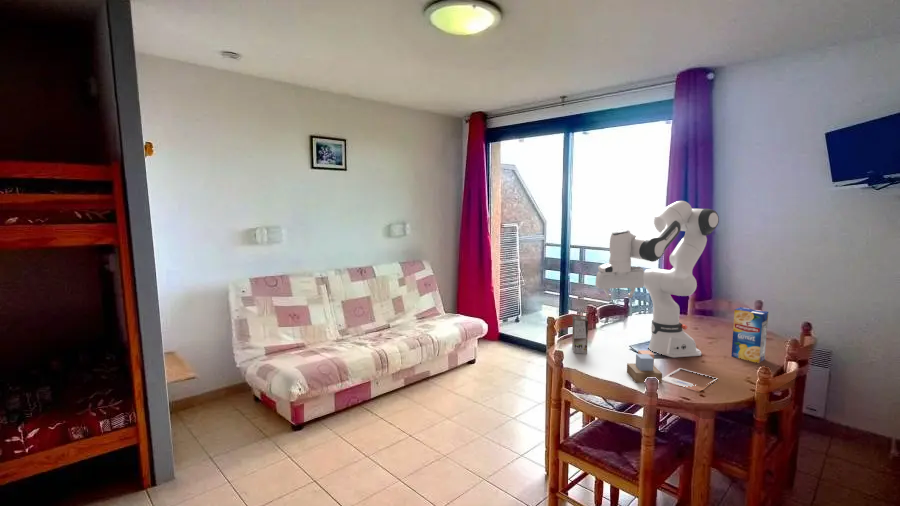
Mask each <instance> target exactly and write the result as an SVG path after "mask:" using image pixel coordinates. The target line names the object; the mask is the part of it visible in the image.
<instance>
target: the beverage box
mask: <svg viewBox="0 0 900 506" xmlns="http://www.w3.org/2000/svg"><path fill="white" fill-rule="evenodd" d="M733 314H734V315H733V326H732V329H733V330H732V340H731V341H732V342H731V343H732V344H731V357H733V358H736V359H740V358H741V360H744V361H748V360H749V361H748V362H752V363H756V362H757V363H756V364H760V363H762V362H763V361H764V360H766V347H767V346H766V345H767V332H768V322H769V311H766V310H760V309H759V310H758V309H753V308H748V307H741V306H740V307H738V308H735V309H734V313H733ZM761 361H762V362H761Z"/></svg>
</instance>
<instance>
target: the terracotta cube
mask: <svg viewBox="0 0 900 506" xmlns="http://www.w3.org/2000/svg"><path fill="white" fill-rule="evenodd" d="M637 354H649V355H650V356H651V357H652V358H654V359H655V353H654V352H652V351H650V350H649V349H647V350H645V349H644V350H643V349H641V350H640V349H639V350H637ZM653 365H654V366H655V361H654V362H653Z"/></svg>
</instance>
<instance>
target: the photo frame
mask: <svg viewBox="0 0 900 506" xmlns="http://www.w3.org/2000/svg"><path fill="white" fill-rule="evenodd" d="M680 370H682V371H686V372H689V373H692V372H693V373H692V374H696V373H697V374H696V375H699V374H700V376H703V375H705V376H704V377H707V376H709V377H708V378H710V377H712V378H711V379H713V380H712V381H710V382H709V383H711V382H713V381H715V380H717V379H718V380H719V378H717V377H713V376H710V375H708V374H703V373H699V372H696V371H692V370H689V369H686V368H682V367H679V368H677V369H675V370H673V371H672V372H670V373H668V374H667V375H665V376H664V377H663V376H662V382H663V381H665V382H664V383H667V382H669V383H668V384H670V383H672V384H671V385H673V384H676V385H679V386H683V387H685V386H686V387H688V386H690V387H692V386H694V385H693V384H694V383H692V382H688V381H685V380H681V379H678V378H676V377H672V376H673V375H674V374H676V373H678V372H680ZM672 374H673V375H672ZM670 375H671V376H670ZM714 378H716V379H714ZM718 380H717V381H718ZM715 382H716V381H715ZM709 383H707V384H709ZM676 385H675V386H676ZM696 385H697V384H695V386H696ZM679 386H678V387H679ZM683 387H682V388H683Z"/></svg>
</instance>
